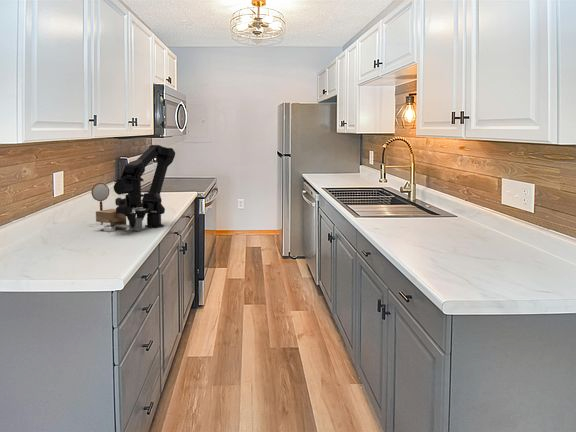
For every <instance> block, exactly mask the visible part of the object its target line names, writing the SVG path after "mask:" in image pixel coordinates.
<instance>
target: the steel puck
mask: <svg viewBox="0 0 576 432" xmlns="http://www.w3.org/2000/svg"><path fill="white" fill-rule="evenodd" d="M116 231H117V228H116V226H115V225H110V224H107V225H104V226H103V232H105V233H113V232H116Z"/></svg>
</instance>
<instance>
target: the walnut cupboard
mask: <svg viewBox="0 0 576 432" xmlns="http://www.w3.org/2000/svg"><path fill="white" fill-rule="evenodd" d="M95 222H96V223H101V222H103V224H104V223H105V224H109V225H115V224H124V225H127V216H126V215H124V214H121V213H116V208H110V209H108V208H107V209H104V210H102V211H100V210H96V211H95ZM115 226H116V225H115ZM116 229H121V230H125V229H126V228H125V227H116Z"/></svg>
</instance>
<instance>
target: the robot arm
mask: <svg viewBox="0 0 576 432" xmlns="http://www.w3.org/2000/svg"><path fill="white" fill-rule="evenodd" d="M175 156H176V152H175V150H174V148H172V147H165V146H162V145H160V144H151V145H149V147H148V148H147V149H146V150H145V151H144V152H143V153H142V154H141V155H139V157H138V158H136V159H135V160H132V161H130V162H128V163H127V164H125V166H124V168H123V171H122V172H121V175H120V178H117V179H116V181H115V182H114V185H113V190H114V193H115V194H117V195H118V196H119V195H124V194H125V196H124V197H125V198H121V197H117V198H115V200H114V201H115V205H116V208H115V209H116V213H121V214H124V215H126V219H127V220H128V224H129V223H130V225H131V227H132V228H134V224H135V218H136V217H139V218H142V222H143V221H144V218H145V216H146V225H144V227H148V228H158V227H164V226H165V224H162V215H163V214H165V212H166V209H165V206H164V205H163V204H162V197H161V192H162V188H163V185H164V180H165V177H166V173H167V171H168V167H169V166H171V164H172V163H173V162H174V160H175ZM154 159H155V161H156V167H155V171H154V174H153V178H152V181H151V184H150V187H149V191H147V192H144V193H142V182H145V180H144V179H143V178H142V176H143V175H144V173H145V171H146V167H147V166H148V165H149V164H150V162H152V161H153V160H154Z"/></svg>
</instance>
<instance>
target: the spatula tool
mask: <svg viewBox="0 0 576 432" xmlns="http://www.w3.org/2000/svg"><path fill="white" fill-rule="evenodd" d="M115 225H116V227H125V229H127V228H128V230H132V231H139V230H142V229H143V221H142V218H139V217H137V216H136V218H135V224H134V228H132V227H131V225H130V223H129V222H128V224H126V225H124V224H115Z"/></svg>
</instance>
